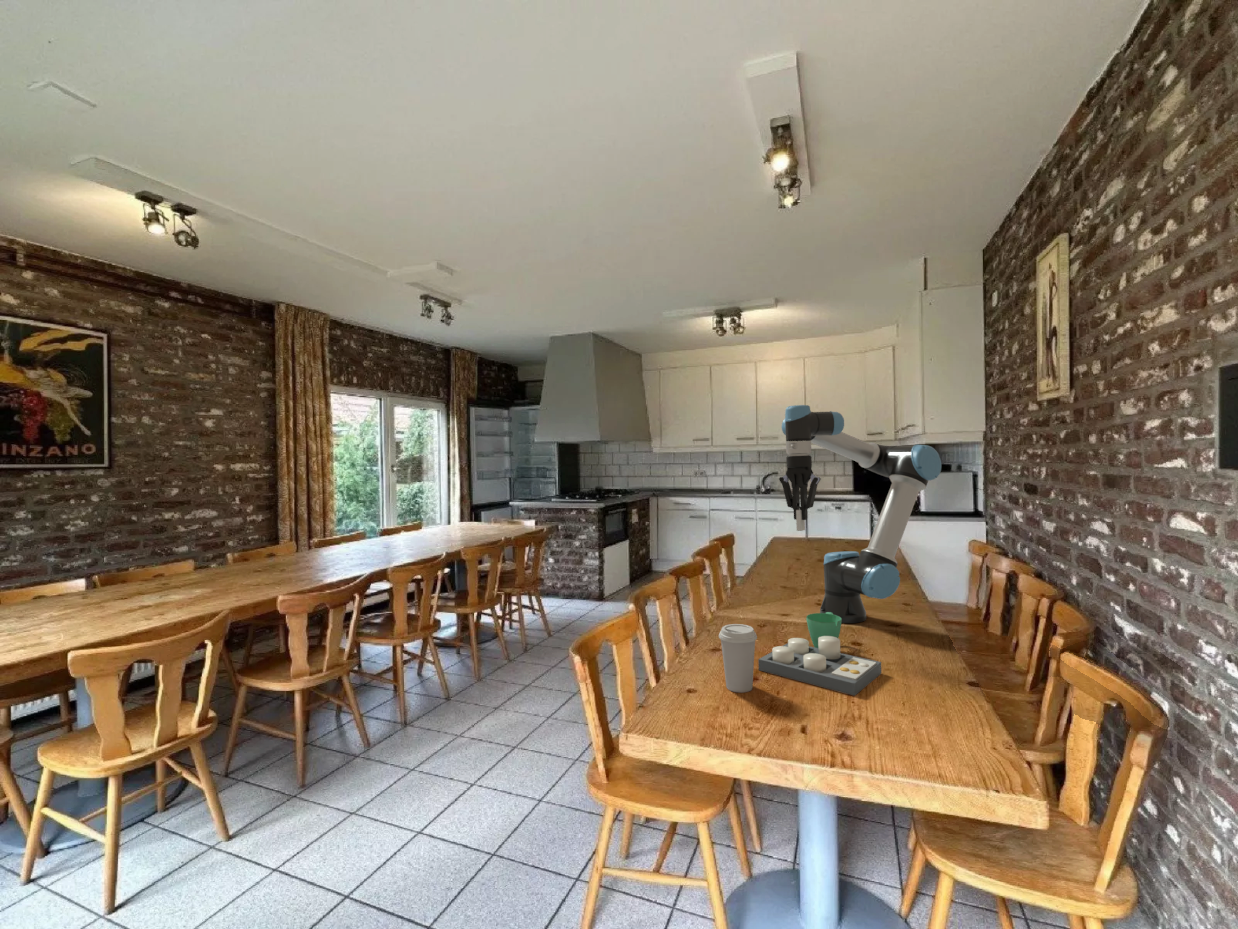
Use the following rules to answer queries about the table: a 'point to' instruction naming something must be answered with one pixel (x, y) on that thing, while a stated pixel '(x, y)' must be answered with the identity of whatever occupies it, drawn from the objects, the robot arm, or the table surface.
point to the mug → (823, 626)
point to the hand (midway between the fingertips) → (800, 530)
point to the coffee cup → (738, 656)
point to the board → (827, 671)
